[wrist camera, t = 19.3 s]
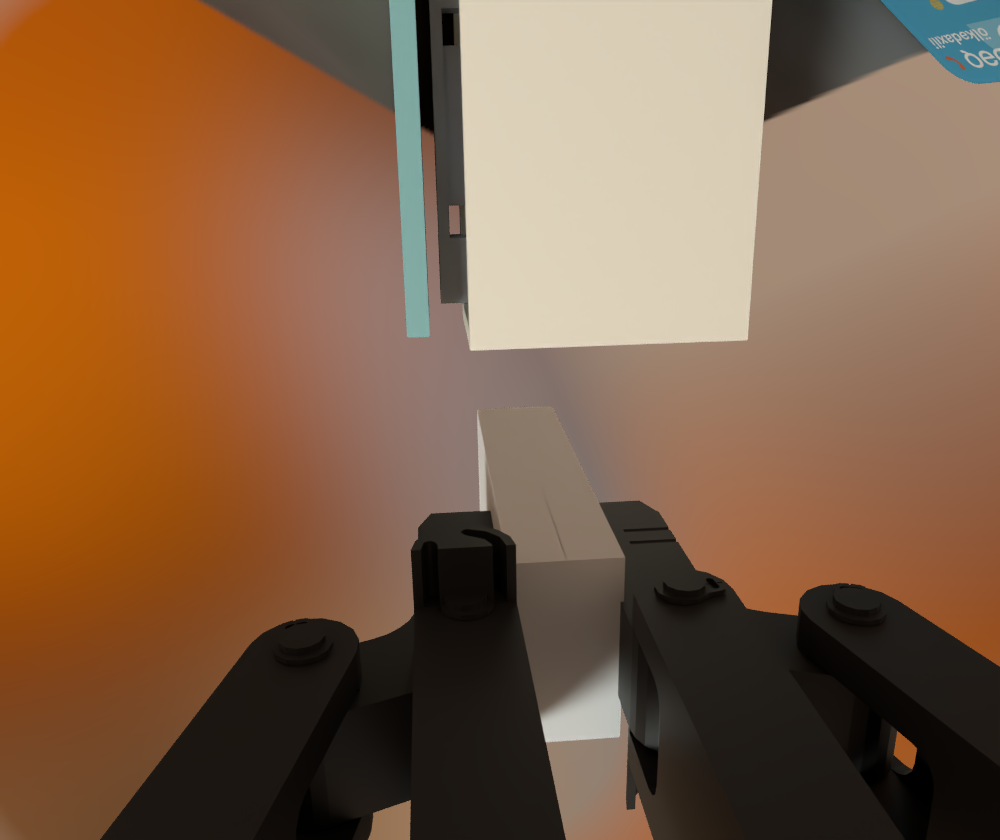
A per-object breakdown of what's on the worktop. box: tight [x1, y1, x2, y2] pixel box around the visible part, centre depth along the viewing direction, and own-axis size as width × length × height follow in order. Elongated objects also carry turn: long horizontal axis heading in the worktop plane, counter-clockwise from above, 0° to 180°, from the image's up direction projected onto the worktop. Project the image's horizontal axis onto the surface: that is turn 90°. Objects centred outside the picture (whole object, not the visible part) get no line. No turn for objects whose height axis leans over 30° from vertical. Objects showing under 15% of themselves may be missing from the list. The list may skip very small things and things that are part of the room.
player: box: [453, 0, 772, 350], centre depth 37 cm, size 12×18×7 cm, turn 1°
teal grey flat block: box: [389, 0, 468, 337], centre depth 38 cm, size 13×18×5 cm
